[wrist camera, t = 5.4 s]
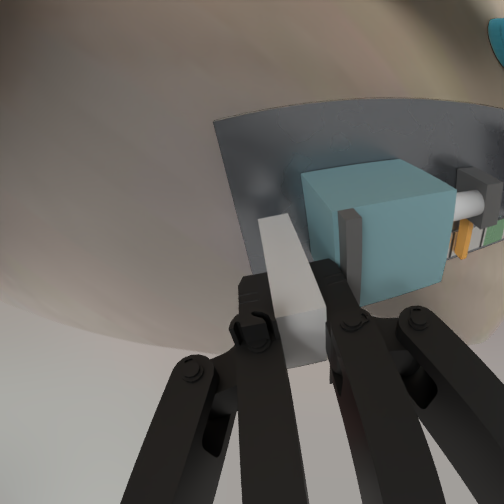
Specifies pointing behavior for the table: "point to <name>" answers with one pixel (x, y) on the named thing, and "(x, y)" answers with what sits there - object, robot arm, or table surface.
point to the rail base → (352, 154)
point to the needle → (492, 200)
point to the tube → (497, 37)
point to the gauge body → (384, 225)
